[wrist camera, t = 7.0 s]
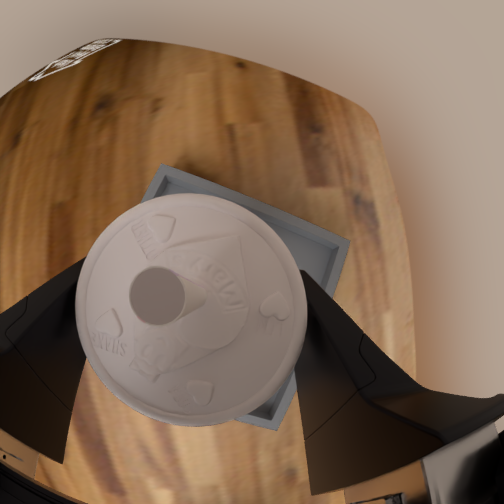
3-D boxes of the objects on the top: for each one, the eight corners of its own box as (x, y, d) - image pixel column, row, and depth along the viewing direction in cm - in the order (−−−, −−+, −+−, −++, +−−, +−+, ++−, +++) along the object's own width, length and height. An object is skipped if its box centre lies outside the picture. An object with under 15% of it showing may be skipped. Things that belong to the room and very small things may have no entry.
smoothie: (278, 290, 17) (480, 260, 3) (219, 376, 15) (230, 581, 2) (192, 229, 17) (126, 27, 3) (132, 314, 15) (-73, 343, 2)
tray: (338, 246, 24) (350, 241, 22) (271, 418, 21) (276, 430, 18) (166, 175, 23) (161, 163, 21) (95, 347, 20) (83, 352, 18)
